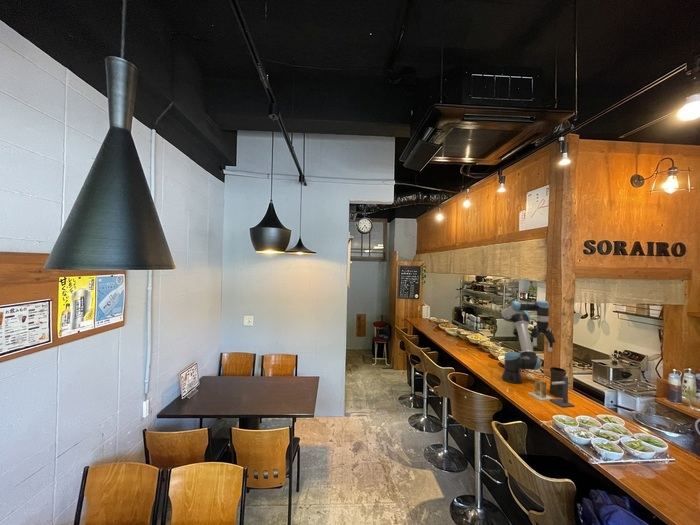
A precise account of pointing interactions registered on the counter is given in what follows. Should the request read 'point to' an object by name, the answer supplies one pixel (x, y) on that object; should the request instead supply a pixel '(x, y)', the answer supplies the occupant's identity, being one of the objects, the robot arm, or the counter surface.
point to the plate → (540, 397)
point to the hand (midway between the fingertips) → (542, 348)
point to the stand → (564, 401)
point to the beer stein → (557, 377)
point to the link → (543, 387)
